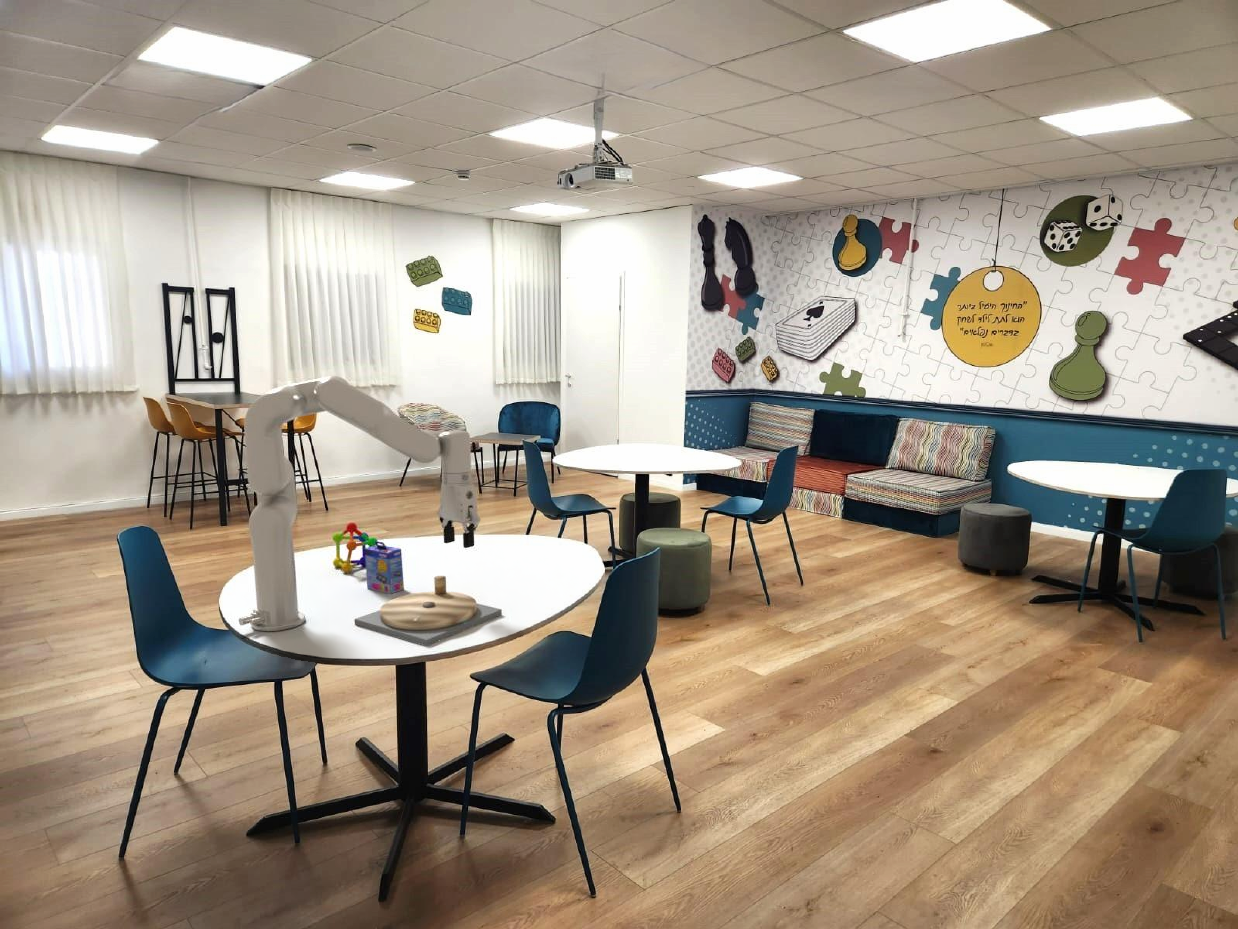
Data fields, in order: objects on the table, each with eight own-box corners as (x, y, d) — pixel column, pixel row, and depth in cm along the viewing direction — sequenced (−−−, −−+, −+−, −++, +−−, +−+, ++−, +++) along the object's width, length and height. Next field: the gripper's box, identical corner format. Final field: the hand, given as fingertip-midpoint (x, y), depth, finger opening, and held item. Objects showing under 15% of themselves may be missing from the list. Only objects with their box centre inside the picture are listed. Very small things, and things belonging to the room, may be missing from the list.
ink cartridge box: (365, 589, 234) (363, 540, 232) (380, 584, 239) (377, 536, 237) (390, 594, 229) (387, 544, 227) (404, 589, 234) (402, 540, 232)
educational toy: (385, 570, 257) (385, 524, 254) (348, 579, 248) (347, 532, 244) (358, 557, 267) (358, 513, 264) (322, 565, 258) (321, 520, 254)
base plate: (426, 646, 191) (426, 639, 191) (354, 624, 205) (354, 618, 205) (501, 614, 212) (501, 608, 212) (431, 597, 227) (431, 591, 226)
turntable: (463, 631, 196) (462, 605, 195) (365, 628, 197) (364, 603, 196) (486, 599, 219) (485, 576, 218) (399, 597, 221) (398, 575, 220)
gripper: (490, 479, 209) (492, 547, 212) (446, 472, 220) (448, 537, 222) (467, 483, 203) (470, 553, 206) (423, 476, 214) (426, 542, 217)
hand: (459, 544), depth 214 cm, fingers open, 7 cm apart
